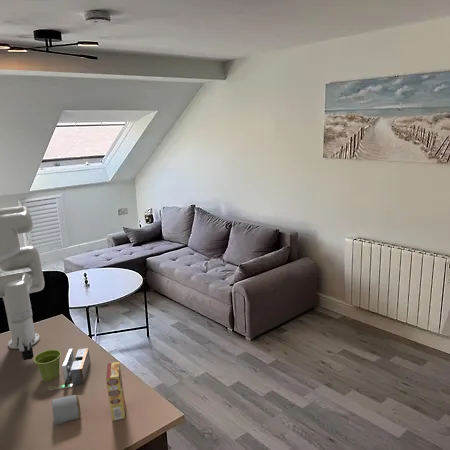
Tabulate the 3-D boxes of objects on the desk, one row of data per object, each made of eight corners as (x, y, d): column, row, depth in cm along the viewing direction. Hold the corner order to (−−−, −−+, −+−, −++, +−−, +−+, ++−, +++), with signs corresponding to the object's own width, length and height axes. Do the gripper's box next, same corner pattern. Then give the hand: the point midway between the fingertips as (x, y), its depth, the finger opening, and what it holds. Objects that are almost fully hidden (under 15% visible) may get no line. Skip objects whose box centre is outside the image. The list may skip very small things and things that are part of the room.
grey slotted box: (48, 390, 148) (46, 375, 147) (59, 365, 164) (56, 351, 162) (83, 385, 150) (81, 370, 149) (90, 361, 165) (88, 348, 164)
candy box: (125, 419, 132) (119, 376, 128) (111, 421, 131) (105, 378, 127) (125, 401, 140) (120, 361, 136) (112, 404, 139) (106, 363, 136)
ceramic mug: (82, 421, 131) (79, 400, 130) (55, 430, 128) (51, 408, 126) (78, 403, 141) (75, 382, 139) (53, 411, 137) (49, 390, 136)
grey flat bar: (63, 386, 149) (60, 369, 148) (71, 365, 163) (69, 349, 162) (75, 385, 150) (72, 368, 148) (82, 363, 164) (79, 347, 162)
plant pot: (69, 371, 159) (66, 351, 157) (52, 386, 151) (48, 364, 149) (49, 368, 162) (46, 348, 160) (31, 382, 154) (27, 361, 152)
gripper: (16, 305, 156) (24, 348, 161) (2, 324, 142) (11, 371, 147) (37, 303, 157) (44, 346, 162) (25, 322, 143) (33, 369, 148)
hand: (28, 358), depth 155 cm, fingers closed
